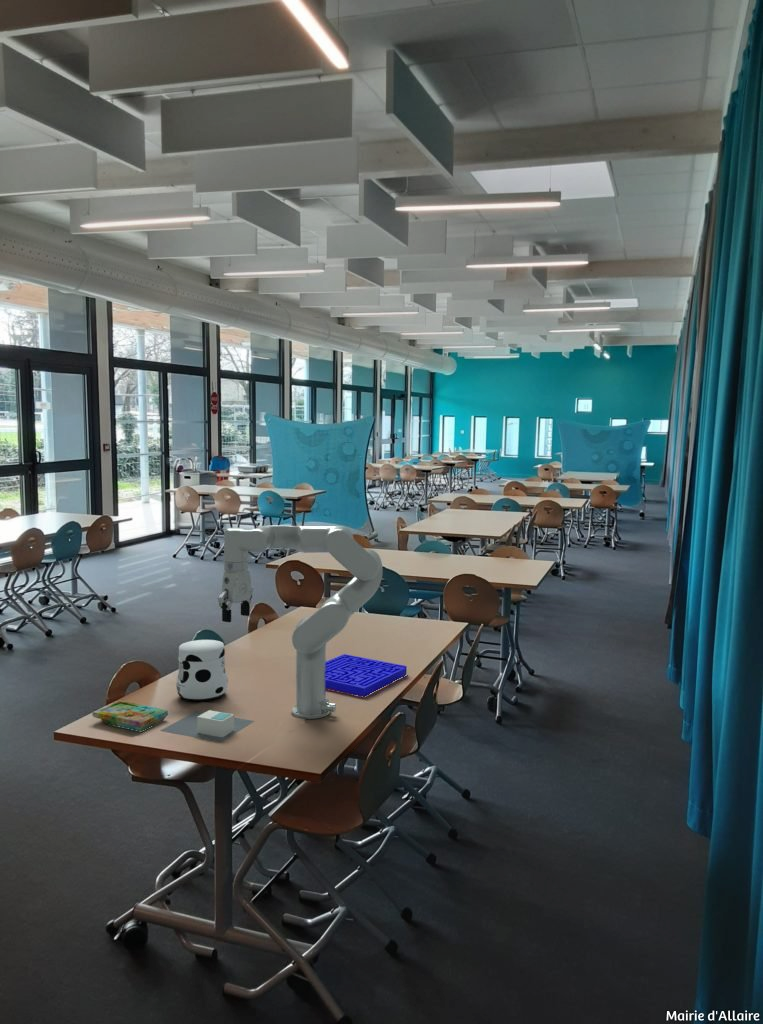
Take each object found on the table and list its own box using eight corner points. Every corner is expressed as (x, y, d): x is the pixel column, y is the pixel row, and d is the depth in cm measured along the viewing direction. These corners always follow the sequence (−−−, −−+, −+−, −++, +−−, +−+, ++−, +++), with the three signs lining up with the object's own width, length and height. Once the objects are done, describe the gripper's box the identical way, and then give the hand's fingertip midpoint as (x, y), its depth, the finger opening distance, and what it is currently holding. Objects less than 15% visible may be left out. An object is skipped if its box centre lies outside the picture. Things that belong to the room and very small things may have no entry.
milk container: (237, 691, 265) (236, 641, 263) (210, 707, 249) (209, 654, 247) (195, 685, 271) (194, 637, 269) (166, 701, 254) (165, 649, 253)
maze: (364, 699, 258) (364, 688, 258) (296, 684, 274) (296, 673, 274) (408, 676, 283) (408, 666, 283) (344, 663, 300) (344, 654, 299)
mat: (254, 722, 235) (254, 721, 235) (220, 744, 219) (220, 742, 219) (196, 712, 244) (196, 711, 244) (160, 732, 227) (160, 730, 227)
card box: (234, 730, 227) (233, 713, 227) (222, 737, 222) (222, 720, 221) (209, 725, 231) (209, 709, 230) (197, 732, 225) (197, 716, 225)
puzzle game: (140, 720, 225) (92, 709, 234) (140, 735, 226) (92, 724, 235) (167, 707, 236) (120, 698, 245) (168, 722, 236) (120, 712, 245)
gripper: (228, 571, 231) (228, 625, 233) (261, 563, 247) (261, 614, 248) (209, 569, 234) (209, 622, 236) (242, 561, 250) (242, 611, 252)
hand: (236, 618), depth 242 cm, fingers open, 9 cm apart
